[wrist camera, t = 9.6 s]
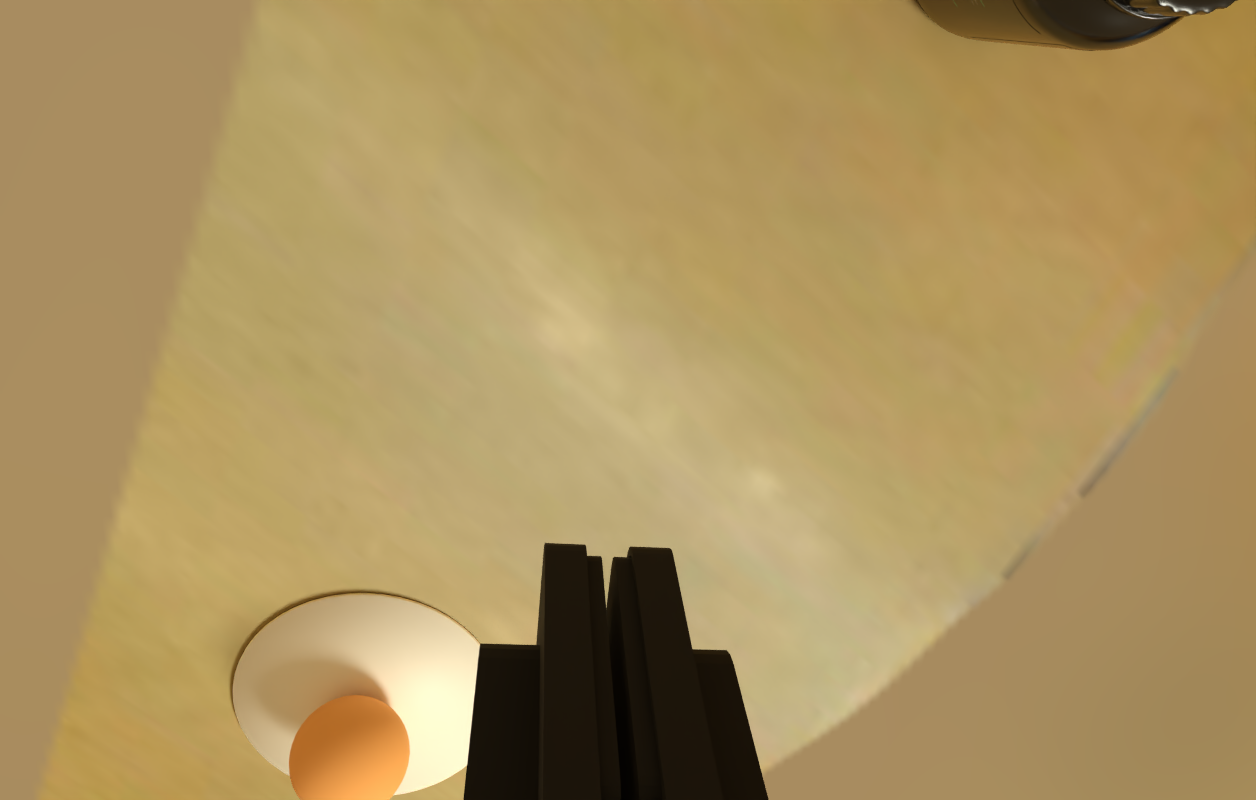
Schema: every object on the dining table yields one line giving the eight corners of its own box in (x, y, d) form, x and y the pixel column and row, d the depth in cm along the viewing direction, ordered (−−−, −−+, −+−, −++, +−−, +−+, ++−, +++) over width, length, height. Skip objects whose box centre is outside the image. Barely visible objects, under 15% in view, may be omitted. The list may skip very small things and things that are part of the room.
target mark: (220, 591, 41) (218, 593, 40) (503, 594, 42) (503, 597, 42) (246, 795, 46) (245, 798, 46) (497, 792, 47) (497, 795, 47)
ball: (272, 738, 38) (272, 845, 40) (400, 743, 39) (397, 848, 40) (307, 670, 44) (306, 766, 45) (420, 675, 44) (416, 770, 45)
